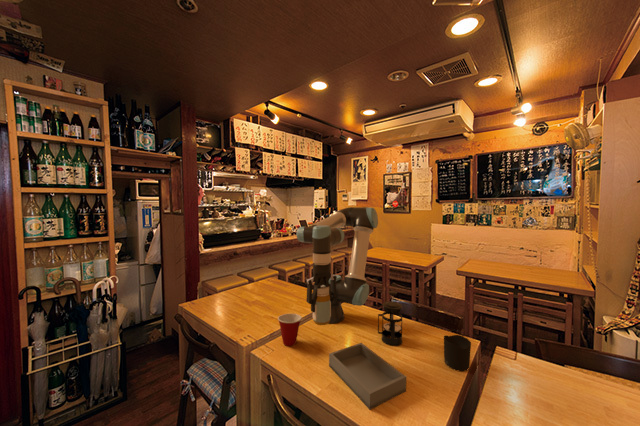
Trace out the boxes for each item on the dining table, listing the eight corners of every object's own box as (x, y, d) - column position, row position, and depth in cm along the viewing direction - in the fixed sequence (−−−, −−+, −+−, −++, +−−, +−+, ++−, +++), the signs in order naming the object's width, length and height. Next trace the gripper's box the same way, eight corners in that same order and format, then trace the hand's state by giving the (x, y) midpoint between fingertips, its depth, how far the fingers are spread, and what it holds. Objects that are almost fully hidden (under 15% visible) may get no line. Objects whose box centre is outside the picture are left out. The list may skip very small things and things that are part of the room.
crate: (361, 354, 106) (361, 342, 106) (406, 391, 85) (406, 376, 85) (329, 366, 98) (329, 353, 98) (369, 409, 77) (369, 393, 77)
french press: (402, 336, 120) (403, 289, 120) (405, 347, 111) (406, 296, 111) (377, 334, 123) (378, 287, 122) (378, 344, 114) (378, 294, 113)
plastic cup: (303, 337, 120) (303, 312, 119) (299, 350, 109) (299, 322, 108) (281, 335, 121) (281, 311, 120) (274, 348, 110) (274, 321, 110)
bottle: (310, 323, 104) (310, 288, 103) (317, 316, 110) (317, 283, 109) (326, 327, 101) (326, 290, 100) (332, 319, 107) (332, 284, 107)
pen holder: (445, 354, 106) (446, 331, 106) (471, 363, 101) (471, 338, 100) (441, 366, 99) (441, 341, 98) (469, 375, 93) (469, 349, 93)
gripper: (335, 258, 112) (335, 309, 113) (297, 263, 103) (297, 318, 104) (345, 261, 106) (345, 315, 107) (305, 267, 97) (305, 326, 98)
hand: (321, 317), depth 105 cm, fingers closed on bottle, 6 cm apart
